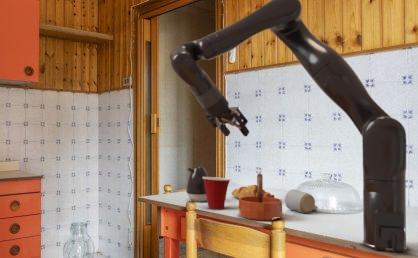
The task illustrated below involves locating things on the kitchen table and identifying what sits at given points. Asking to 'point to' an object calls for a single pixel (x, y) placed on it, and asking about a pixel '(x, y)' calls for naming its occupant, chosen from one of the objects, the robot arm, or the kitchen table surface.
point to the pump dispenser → (196, 184)
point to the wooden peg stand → (259, 188)
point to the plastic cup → (216, 191)
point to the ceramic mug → (300, 201)
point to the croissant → (249, 192)
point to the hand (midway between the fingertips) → (237, 134)
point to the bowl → (260, 208)
